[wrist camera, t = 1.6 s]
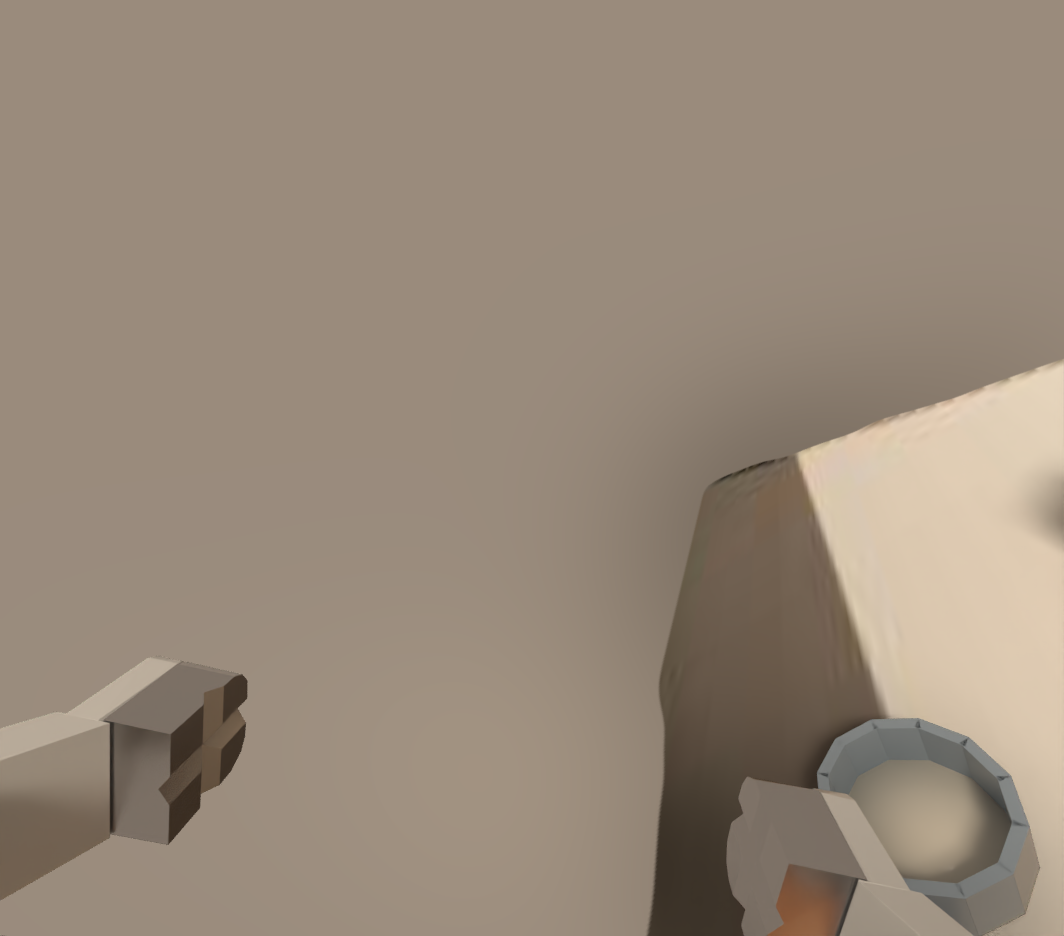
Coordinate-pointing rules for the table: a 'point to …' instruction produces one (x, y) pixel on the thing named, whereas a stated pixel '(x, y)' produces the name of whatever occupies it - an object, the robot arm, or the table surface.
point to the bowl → (940, 816)
